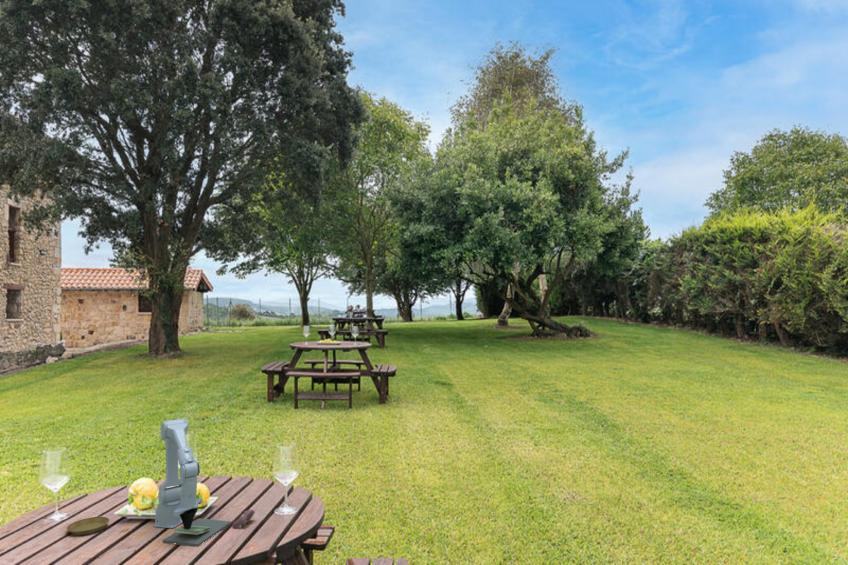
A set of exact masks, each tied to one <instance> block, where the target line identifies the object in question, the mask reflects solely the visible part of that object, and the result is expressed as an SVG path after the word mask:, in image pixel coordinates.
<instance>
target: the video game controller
mask: <svg viewBox="0 0 848 565" xmlns="http://www.w3.org/2000/svg"><path fill="white" fill-rule="evenodd" d="M255 513H256V511H255V510H253V509H250V508H249V509H247V510H245V511H244V512H243V513H242V514H241V515H240V516H239V518H238V519H236V521H234V522H232V524H231V525H232V528H233V529H238V528H239V527H244V526H245V525H246V524H248V523H250V521H251V519H252V518H253V517H254V514H255Z"/></svg>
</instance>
